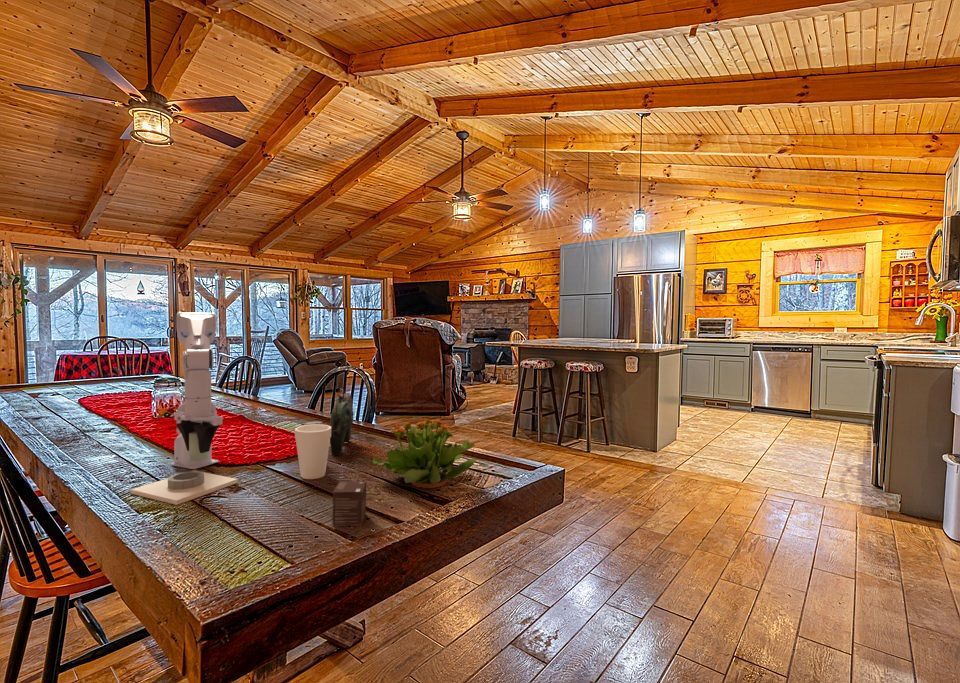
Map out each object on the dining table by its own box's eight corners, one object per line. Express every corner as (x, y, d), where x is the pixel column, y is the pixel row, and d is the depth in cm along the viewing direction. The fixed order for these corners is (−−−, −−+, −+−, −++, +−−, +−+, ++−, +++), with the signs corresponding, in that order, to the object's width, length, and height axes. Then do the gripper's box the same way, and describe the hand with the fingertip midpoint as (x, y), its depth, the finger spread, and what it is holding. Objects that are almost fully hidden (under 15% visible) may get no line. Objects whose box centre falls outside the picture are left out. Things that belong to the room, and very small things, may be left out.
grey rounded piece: (185, 459, 115) (185, 433, 115) (200, 455, 119) (200, 430, 119) (196, 461, 114) (196, 435, 114) (211, 457, 117) (211, 432, 117)
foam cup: (288, 474, 127) (288, 427, 126) (320, 467, 133) (320, 422, 133) (305, 483, 120) (305, 434, 120) (337, 475, 127) (337, 428, 126)
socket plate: (131, 493, 111) (130, 481, 111) (194, 473, 126) (194, 463, 126) (176, 504, 105) (176, 491, 105) (237, 482, 120) (237, 471, 120)
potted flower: (440, 462, 140) (441, 405, 140) (496, 483, 124) (498, 418, 123) (367, 481, 123) (367, 416, 122) (421, 508, 106) (423, 432, 105)
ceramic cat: (337, 440, 165) (338, 383, 164) (356, 439, 165) (357, 384, 164) (325, 456, 145) (326, 392, 144) (346, 456, 146) (347, 392, 145)
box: (338, 514, 102) (338, 481, 102) (366, 514, 102) (366, 481, 102) (332, 526, 96) (332, 491, 96) (361, 526, 96) (362, 491, 96)
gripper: (162, 396, 115) (162, 451, 115) (204, 401, 109) (204, 458, 110) (189, 393, 121) (189, 444, 122) (229, 397, 116) (229, 451, 116)
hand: (198, 450), depth 116 cm, fingers closed on grey rounded piece, 4 cm apart
